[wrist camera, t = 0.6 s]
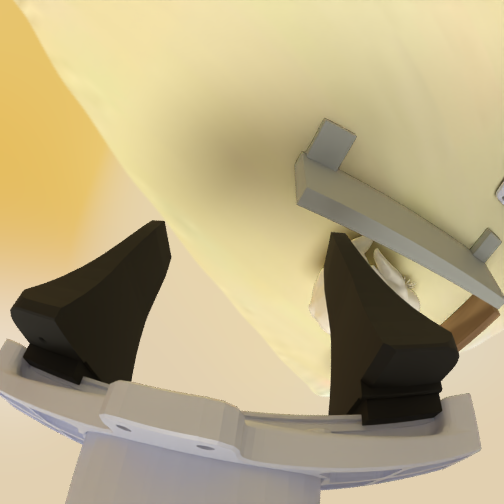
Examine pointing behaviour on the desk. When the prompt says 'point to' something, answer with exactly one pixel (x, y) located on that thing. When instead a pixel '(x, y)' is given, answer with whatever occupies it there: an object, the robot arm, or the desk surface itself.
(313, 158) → the screen
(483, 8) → the desk surface
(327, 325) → the white lumpy rounded piece
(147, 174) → the desk surface
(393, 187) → the desk surface
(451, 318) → the stop bar
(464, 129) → the desk surface
